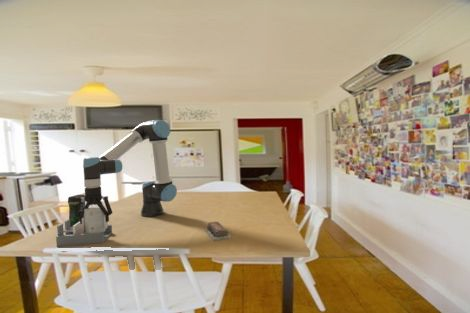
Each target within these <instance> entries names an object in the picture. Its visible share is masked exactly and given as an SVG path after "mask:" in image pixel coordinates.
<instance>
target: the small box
mask: <svg viewBox="0 0 470 313" xmlns="http://www.w3.org/2000/svg"><path fill="white" fill-rule="evenodd" d="M104 216H105V215H104V213H103V212H102V210H101V209H100V208H99V206H98V205H94V206H91V207H90V206H89V207H88V208H87V209H84V225H85V233H86V234H87V233H100V232H104V231H105V229H104Z"/></svg>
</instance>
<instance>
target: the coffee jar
mask: <svg viewBox="0 0 470 313" xmlns="http://www.w3.org/2000/svg"><path fill="white" fill-rule="evenodd" d="M81 197H82V198H85V194H75V195H72V196H69V197H68V198H67V205H68V219H70V227H73V225H75V224H76V223H78V222H79V221H80V218H79V217H76V212H77V208H78V204H79V200H78V199H79V198H81ZM86 203H87V202H86V201H85V200H84V201H83V205H82V209H81V213H82V211H83V209H84V207H85V205H86ZM81 213H80V214H81ZM83 217H84V216H83Z"/></svg>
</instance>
